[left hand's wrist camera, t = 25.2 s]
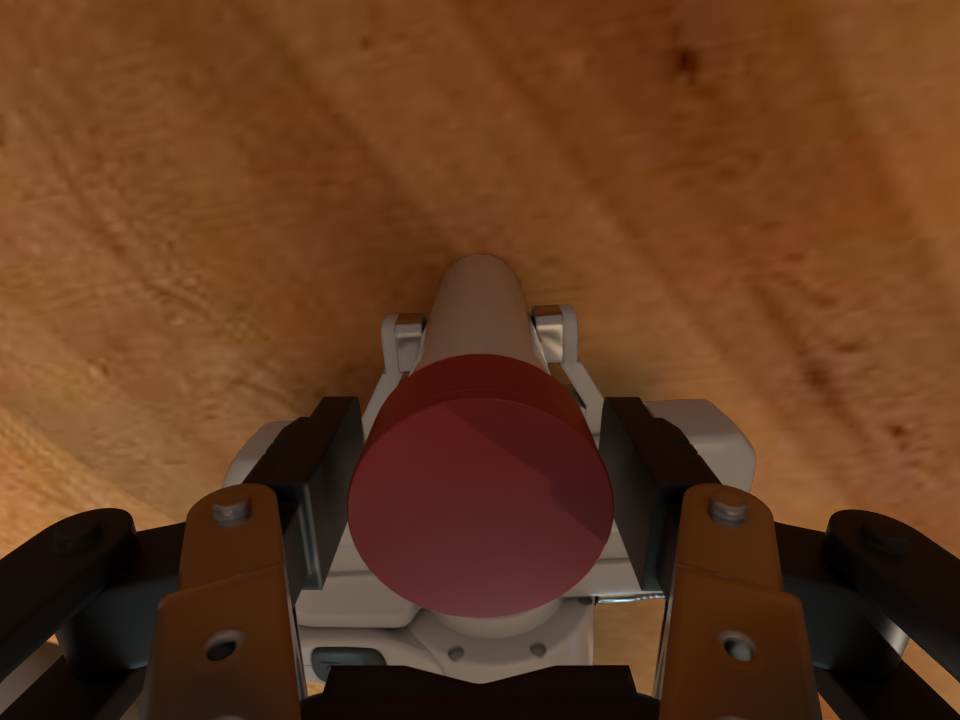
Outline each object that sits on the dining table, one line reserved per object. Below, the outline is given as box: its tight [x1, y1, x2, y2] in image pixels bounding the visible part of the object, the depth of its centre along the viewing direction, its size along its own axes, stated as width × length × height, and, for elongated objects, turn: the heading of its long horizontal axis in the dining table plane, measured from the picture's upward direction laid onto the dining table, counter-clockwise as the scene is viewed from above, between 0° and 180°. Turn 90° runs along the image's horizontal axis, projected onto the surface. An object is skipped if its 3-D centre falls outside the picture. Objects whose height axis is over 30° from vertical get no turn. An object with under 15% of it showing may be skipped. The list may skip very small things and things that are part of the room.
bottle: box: [408, 254, 552, 377], centre depth 17 cm, size 4×4×16 cm
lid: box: [347, 354, 614, 618], centre depth 10 cm, size 5×5×2 cm
